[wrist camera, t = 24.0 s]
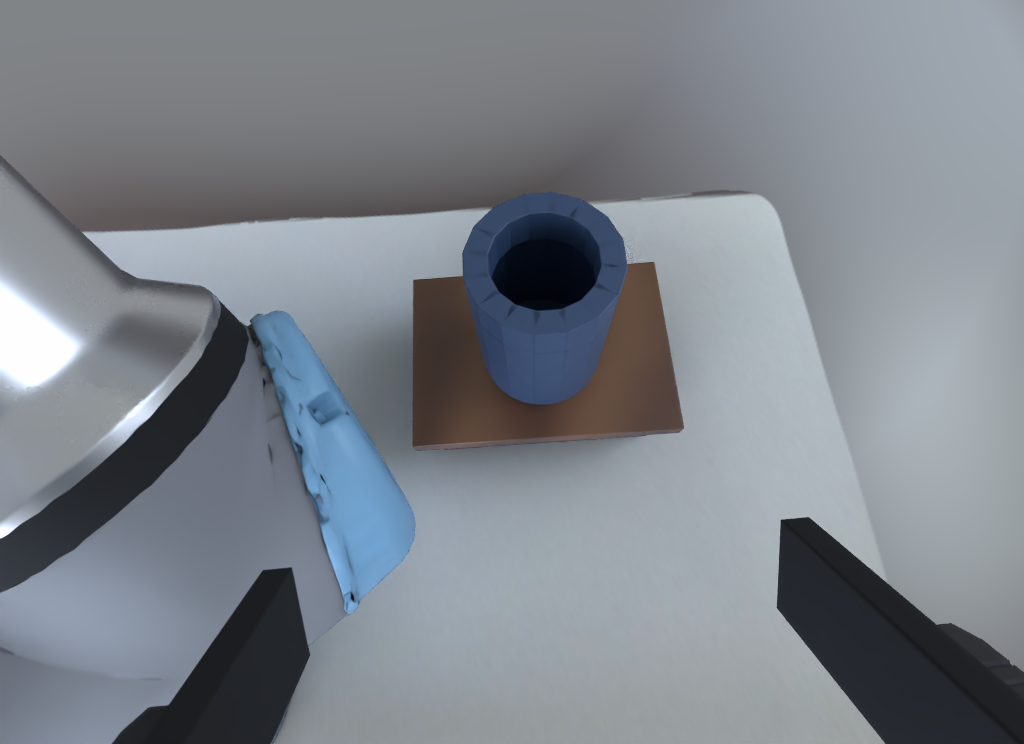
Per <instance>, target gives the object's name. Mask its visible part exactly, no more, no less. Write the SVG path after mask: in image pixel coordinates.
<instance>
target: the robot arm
mask: <svg viewBox="0 0 1024 744" xmlns="http://www.w3.org/2000/svg"><path fill="white" fill-rule="evenodd" d="M250 322H251V325H249V326H246V325H244V324H242V323H241V322H239V320H238V319H237V318H236V317H235V316H234V315H233V314H232V313H231V312H230V311H229V310H228V309H227V308H226V307H225V306H224V305H223V304H222V303H221V302H220V301H219V300H218V298H217V297H216V296H215V295H213V294H212V293H211V292H210V291H209V290H207V289H206V288H205V287H202V286H199V285H191V284H182V283H173V282H165V281H156V280H147V279H139V278H136V277H134V276H132V275H130V274H128V273H127V272H125V271H123V270H121V269H120V268H119V267H118V266H117V265H115V264H114V263H113V262H112V261H111V260H110V259H109V258H108V257H107V256H106V255H105V254H104V253H103V252H102V251H101V250H100V249H99V248H98V247H96V246H95V245H94V244H93V243H92V242H91V241H90V240H89V239H88V238H87V237H86V236H85V235H84V234H83V233H82V232H81V231H80V230H79V229H77V228H76V227H75V226H74V225H73V224H72V223H71V222H70V221H69V220H68V219H67V218H66V217H65V216H64V215H63V214H62V213H60V211H59V210H57V209H56V208H55V207H54V206H53V205H52V204H51V203H50V202H49V201H48V200H47V199H46V198H45V197H44V196H43V195H42V194H41V193H39V192H38V191H37V190H36V189H35V188H34V187H33V186H32V185H31V184H30V183H29V182H28V181H27V180H26V179H25V178H24V177H23V176H22V175H21V174H20V173H19V172H17V171H16V170H15V169H14V168H13V167H12V166H11V165H10V164H9V163H8V162H7V161H6V160H5V159H4V158H3V157H2V156H1V155H0V744H273V743H274V741H275V739H276V737H277V735H278V733H279V731H280V729H281V726H282V724H283V721H284V718H285V716H286V713H287V709H288V706H289V702H290V699H291V697H292V695H293V693H294V690H295V688H296V686H297V683H298V681H299V679H300V677H301V674H302V672H303V670H304V667H305V665H306V663H307V661H308V658H309V656H310V653H309V648H308V646H309V645H310V644H311V643H313V642H314V641H315V640H316V639H317V638H319V637H320V636H321V635H322V634H324V633H325V632H326V631H327V630H329V629H330V628H331V627H332V626H334V625H335V624H336V623H337V622H339V621H340V620H341V619H342V618H344V617H345V616H346V615H350V614H351V613H352V612H353V611H355V610H356V609H357V608H358V605H359V602H360V600H361V599H362V598H363V597H364V596H365V595H366V594H367V593H369V592H370V591H371V590H372V589H373V588H374V587H375V586H376V585H377V584H378V583H379V582H380V581H381V580H382V579H384V578H385V577H386V576H387V575H388V574H389V573H390V572H391V571H392V570H393V569H394V568H395V567H396V566H397V565H399V564H400V563H401V562H402V561H403V560H404V558H405V557H406V555H407V554H408V552H409V549H410V547H411V545H412V543H413V540H414V536H415V526H416V525H415V518H414V513H413V511H412V508H411V507H410V505H409V503H408V501H407V499H406V497H405V495H404V494H403V492H402V490H401V488H400V487H399V485H398V483H397V482H396V480H395V478H394V476H393V475H392V473H391V471H390V470H389V468H388V466H387V465H386V463H385V462H384V460H383V458H382V457H381V455H380V453H379V452H378V450H377V448H376V447H375V445H374V444H373V442H372V440H371V439H370V437H369V435H368V434H367V432H366V431H365V429H364V427H363V426H362V424H361V423H360V421H359V419H358V418H357V416H356V415H355V413H354V412H353V410H352V408H351V407H350V405H349V404H348V402H347V401H346V399H345V397H344V396H343V394H342V393H341V391H340V389H339V388H338V386H337V384H336V383H335V381H334V380H333V378H332V377H331V375H330V374H329V372H328V370H327V369H326V367H325V366H324V364H323V363H322V361H321V360H320V358H319V357H318V355H317V353H316V352H315V350H314V349H313V347H312V346H311V344H310V343H309V341H308V340H307V339H306V337H305V336H304V334H303V333H302V332H301V330H300V329H299V328H298V326H297V324H296V323H295V321H294V319H293V318H292V317H291V316H290V315H289V314H288V313H286V312H284V311H277V310H276V311H273V312H270V313H269V314H266V315H263V314H257V315H256V316H254V317H253V318H252V319H251V320H250ZM777 609H778V610H779V611H780V612H781V614H782V615H783V616H784V617H785V619H786V620H787V621H788V622H789V624H790V625H791V626H792V627H793V629H794V630H795V631H796V632H797V634H798V635H799V636H800V637H801V639H802V640H803V641H804V642H805V644H806V645H807V646H808V647H809V649H810V650H811V651H812V652H813V654H814V655H815V656H816V657H817V659H818V660H819V661H820V662H821V664H822V665H823V666H824V667H825V669H826V670H827V671H828V672H829V674H830V675H831V676H832V677H833V679H834V680H835V681H836V682H837V684H838V685H839V686H840V687H841V689H842V690H843V691H844V692H845V694H846V695H847V696H848V697H849V699H850V700H851V701H852V702H853V704H854V705H855V706H856V707H857V709H858V710H859V711H860V712H861V714H862V715H863V716H864V717H865V719H866V720H867V721H868V722H869V724H870V725H871V726H872V727H873V729H874V730H875V731H876V732H877V734H878V735H879V736H880V737H881V739H882V740H883V741H884V742H885V744H1024V672H1023V671H1021V670H1020V669H1019V668H1017V667H1016V666H1015V665H1014V666H1012V665H1011V664H1010V661H1009V660H1007V659H1006V658H1005V657H1004V656H1002V655H1001V654H1000V653H998V652H997V651H996V650H995V649H994V648H992V647H991V646H990V645H989V644H987V643H986V642H985V641H983V640H982V639H980V638H978V637H976V636H974V635H972V634H971V633H969V632H967V631H965V630H963V629H961V628H959V627H957V626H955V625H953V624H952V623H949V624H939V625H936V624H935V623H934V622H933V621H931V620H930V619H929V618H928V617H927V616H925V615H924V614H923V613H922V612H921V611H919V610H918V609H917V608H916V607H915V606H914V605H912V604H911V603H910V602H909V601H908V600H906V599H905V598H904V597H903V596H902V595H900V594H899V593H898V592H897V591H896V590H895V589H893V588H892V587H891V586H890V585H889V584H887V583H886V582H885V581H884V580H883V579H882V578H880V577H879V576H878V575H877V574H876V573H874V572H873V571H872V570H871V569H870V568H868V567H867V566H866V565H865V564H864V563H863V562H861V561H860V560H859V559H858V558H857V557H855V556H854V555H853V554H852V553H851V552H849V551H848V550H847V549H846V548H845V547H844V546H842V545H841V544H840V543H839V542H838V541H836V540H835V539H834V538H833V537H832V536H831V535H829V534H828V533H827V532H826V531H825V530H823V529H822V528H821V527H820V526H819V525H817V524H816V523H815V522H814V521H813V520H812V519H810V518H809V517H806V518H795V519H785V520H781V530H780V552H779V573H778V595H777Z"/></svg>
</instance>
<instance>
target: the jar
mask: <svg viewBox="0 0 1024 744" xmlns="http://www.w3.org/2000/svg"><path fill="white" fill-rule="evenodd" d="M462 256H463V280H464V284H465V288H466V292H467V296H468V300H469V304H470V308H471V312H472V316H473V320H474V324H475V328H476V332H477V336H478V340H479V344H480V348H481V352H482V356H483V360H484V362H485V364H486V367H487V370H488V372H489V374H490V376H491V378H492V379H493V381H494V382H495V383H496V385H497V386H498V387H499V388H500V389H501V390H502V391H504V392H505V393H506V394H508V395H509V396H511V397H513V398H515V399H517V400H519V401H522V402H525V403H529V404H536V405H547V404H554V403H558V402H561V401H564V400H566V399H569V398H570V397H572V396H574V395H576V394H577V393H578V392H579V391H581V390H582V389H583V388H584V387H585V386H586V385H587V383H588V382H589V381H590V380H591V378H592V376H593V374H594V373H595V371H596V368H597V365H598V361H599V358H600V355H601V352H602V349H603V346H604V343H605V340H606V336H607V333H608V330H609V327H610V324H611V321H612V318H613V314H614V311H615V308H616V305H617V302H618V299H619V296H620V292H621V289H622V286H623V283H624V279H625V276H626V273H627V270H628V266H627V260H626V253H625V247H624V241H623V239H622V237H621V236H620V234H619V233H618V231H617V230H616V228H615V227H614V225H613V224H612V222H611V221H610V219H609V218H608V217H607V216H606V215H605V214H603V213H602V212H600V211H599V210H597V209H596V208H594V207H593V206H591V205H590V204H588V203H587V202H585V201H584V200H582V199H578V198H574V197H570V196H566V195H562V194H558V193H553V192H546V193H533V194H523V195H521V196H518V197H516V198H514V199H511V200H509V201H507V202H505V203H502V204H500V205H497V206H496V207H493V208H492V209H491V210H490V211H489V212H488V213H487V214H486V215H485V216H484V217H483V218H482V219H481V220H480V221H479V222H478V223H477V224H476V225H475V226H474V227H473V229H472V232H471V234H470V236H469V238H468V241H467V243H466V245H465V248H464V250H463V253H462Z"/></svg>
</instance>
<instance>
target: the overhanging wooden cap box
mask: <svg viewBox="0 0 1024 744" xmlns="http://www.w3.org/2000/svg"><path fill="white" fill-rule="evenodd" d="M627 266H628V270H627V273H626V276H625V279H624V283H623V286H622V289H621V292H620V296H619V299H618V302H617V305H616V308H615V311H614V314H613V318H612V321H611V324H610V327H609V330H608V333H607V336H606V340H605V343H604V346H603V349H602V352H601V355H600V358H599V361H598V365H597V368H596V371H595V373H594V374H593V376H592V378H591V380H590V381H589V382H588V383H587V385H586V386H585V387H584V388H583V389H582V390H581V391H579V392H578V393H577V394H576V395H574V396H572V397H570V398H569V399H566V400H564V401H561V402H558V403H554V404H547V405H536V404H529V403H525V402H522V401H519V400H517V399H515V398H513V397H511V396H509V395H508V394H506V393H505V392H504V391H502V390H501V389H500V388H499V387H498V386H497V385H496V383H495V382H494V381H493V379H492V378H491V376H490V374H489V372H488V370H487V367H486V364H485V362H484V360H483V356H482V352H481V348H480V344H479V340H478V336H477V332H476V328H475V324H474V320H473V316H472V312H471V308H470V304H469V300H468V296H467V292H466V288H465V284H464V280H463V276H460V277H446V278H433V279H419V280H414V281H413V447H414V448H415V449H416V450H417V451H420V450H434V449H459V448H473V447H488V446H502V445H517V444H531V443H546V442H560V441H575V440H589V439H604V438H618V437H633V436H646V435H652V434H666V433H679V432H680V431H681V430H682V429H684V425H683V419H682V414H681V408H680V403H679V397H678V392H677V386H676V380H675V375H674V369H673V364H672V358H671V353H670V347H669V341H668V336H667V330H666V325H665V319H664V314H663V308H662V303H661V297H660V291H659V286H658V280H657V275H656V269H655V264H654V262H648V263H634V264H627Z"/></svg>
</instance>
